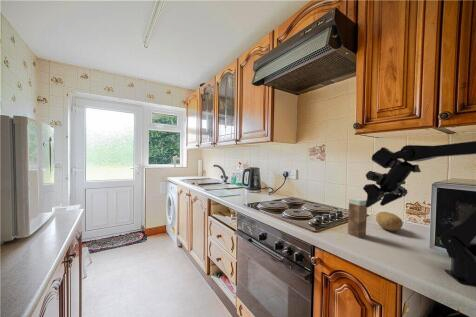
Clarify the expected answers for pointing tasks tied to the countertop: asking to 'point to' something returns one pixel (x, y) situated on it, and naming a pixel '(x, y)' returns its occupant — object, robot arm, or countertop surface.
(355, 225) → the walnut block
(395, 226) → the potato
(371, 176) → the robot arm
